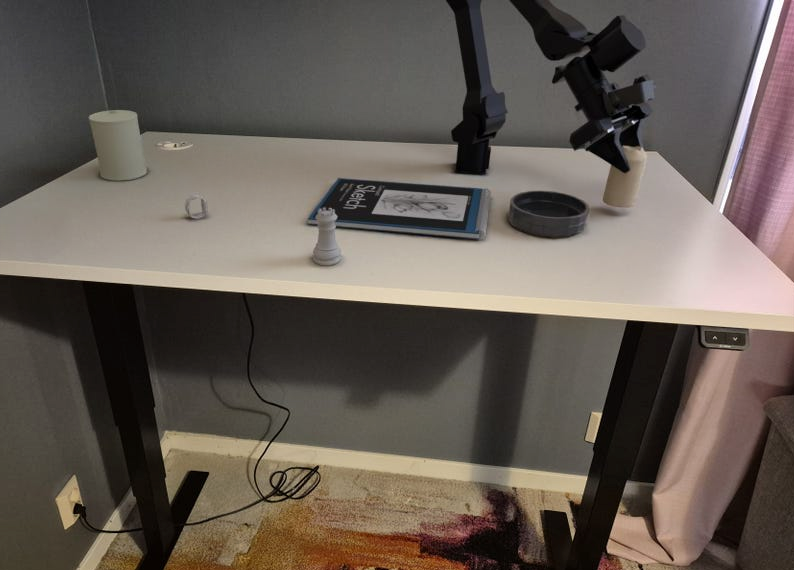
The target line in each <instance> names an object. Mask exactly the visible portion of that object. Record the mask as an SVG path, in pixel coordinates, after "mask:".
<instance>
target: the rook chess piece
mask: <svg viewBox="0 0 794 570" xmlns="http://www.w3.org/2000/svg"><path fill="white" fill-rule="evenodd" d="M316 219H317V220H318V222H319V224H318V225H316V227H317V229H318V236H317V242H316V243H315V247H313V250H312V253H313V255H312V260H313V261H314V262H315V263H316V264H317V265H320V266H325V267H327V266H333V265H337V264H338V263H339V262H340V261H341V260H342V255H341V254H342V249H341V248H340V246H339V244H338V243H337V237H336V228H337V227H336V225H335V224H334V222H335V220H336V219H337V215H336V214H335V210H334V209H333V210H332V208H329V211H326V208H323V211H322V210H321V209H319V210H318V214H317V215H316Z"/></svg>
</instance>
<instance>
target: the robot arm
mask: <svg viewBox="0 0 794 570" xmlns="http://www.w3.org/2000/svg"><path fill="white" fill-rule="evenodd" d="M508 1H509V2H510V3H511V4H512V6H513V7H514V8H515V9H516V10H517V12H519V14H520V15H521V16H522V18H523V19H524V20H525V21H526V22H527V23H528V24H529V26H530V28H531V30H532V31H533V36H534V41H535V43H536V44H537V46H538V48H539V49H540V52H541V53H542V55H543V56H544V57H545V59H547V60H549V61H551V62H555V61H557V62H558V61H562V60H568V59H571V60H570V61H568V62H567V63H566V64H565V65H558V66H555V68H554V74H553V76H552V79H551V83H552V85H555V84H559V83H562V82H566V84H567V86H568V88H569V89H570V91H571V93H572V95H573V97H574V99H575V100H576V102H577V104H576V105H575V106H574V109H575V111H576V112H577V113H579V112H582V113H583V115H584V117H585V119H586V121H587V122H585V123H584V124H582V125H581V126H580V127H578V128H577V129H576V130H574V131H573V132H571V133H570V135H569V136H570V137H569V141H568V142H569V144H570V146H571V148H572V150H573V151H574V152H576V151H579V150H581V149H583V148H584V150H585V152H589V153H591V154H593V155H594V156H595V157H598V158H599V159H601V160H602V161H604V162H605V163H608V164H609V165H610V166H611V165H612V166H614V167H615V168H617V169H618V170H620V171H621V172H623V173H627V172H629V171H630V167H629V164H628V161H627V159H626V156H625V154H624V151H623V149H622V146H630V147H636V146H640V147H642V148H643V150H644V151H645V149H644V144H643V139H642V129H643V127H644V125H645V122H647V117H649V116H650V115H652V114H653V113H654V111H653V109H652V107H651V106H650V104H649V103H648V101H652V100H655V92H654V91H655V90H656V89H657V87H658V85H657V83H655V81H654V78H651V77H650V76H649V75H648V74H645V75H641V76H638V77H635V78H634V80H633V83H632V85H628V86H625V87H622V88H621V87H620V85H619V84H618V83H617V82H609V80H608V78H607V76H606V74H605V72H609V73H615V72H617V71H618V70H620V69H621V68H622V67H623V66H624V65H626V64H627V63H628V62H630V61H631V60H632V59H634V57H637V55H639V54H640V53H642V52H643V51H644V50H645V49H646V47H647V43H646V39H645V36H644V34H643V32H642V31H641V29H639V28H638V27H637V26H636V25H635V23H633V22H631V21H630V20H628V19H627V17H626V15H625V14H619V15H616V16H615V17H614V18H613V19H611V20H610V21H609V23H608V24H607V25H606V26H605V27H604V28H603V29H601V31H600V32H598V33H594V32H593V31H589V30H588V29H587V28H586V26H585V25H584V23H582V22H581V21H579V20H578V19H577V18H575V17H574V16H572V14H570V13H567V12H565V11H564V10H562V9H559V8H558V7H556V6H555V5H553V3H552V2H551V1H550V0H508ZM445 2H446V3H447V5H448V6H449V7H450V9H451V11H452V13H453V14H454V19H455V26H456V30H457V31H456V32H457V39H458V46H459V51H460V56H461V63H462V70H463V75H464V81H465V87H466V92H465V93H466V94H465V97H464V101H463V104H462V120H461V121H460V122H459V123H457V125H456V126H454V127H453V128H452V129H451V130H450V133H451V140H452V142H454V143H457V150H456V160H455V165H454V173H456V174H457V173H458V174H459V173H460V174H473V175H486V174H487V170H489V168H490V162H491V154H492V146H491V145H490V140H491V139H496V137H497V134H498V132H499V131H500V130H501V129H502V128H503V127H504V125H505V124H506V121H507V120H506V115H507V114H508V113H509V111H508V109H507V106H506V95H505V92H504V91H501V92H497V91H496V89H495V88H494V86H493V83H492V78H491V77H492V75H491V71H490V65H489V58H488V50H487V43H486V36H485V30H484V23H483V17H482V11H481V5H482V0H445ZM586 51H588V52H587V53H585V54H584V55H583V56H580V55H581V53H582V52H586ZM588 143H590V144H589V146H587V147H586V144H588Z"/></svg>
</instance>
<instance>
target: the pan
mask: <svg viewBox="0 0 794 570" xmlns="http://www.w3.org/2000/svg"><path fill="white" fill-rule="evenodd" d="M589 212H590V206H589V203H587V202H586V201H585V200H583V199H581V198H579V197H577V196H575V195H571V194H568V193H565V192H559V191H554V190H527V191H522V192H519V193H516V194H514V195H513V196H512V197H511V198H510V200H509V207H508V215H507V220H508V221H509V223H510V224H511V225H512V226H514V227H515V228H516V229H517V230H519V231H521V232H524V233H526V234H529V235H533V236H538V237H544V238H565V237H571V236H573V235H574V236H575V235H576V234H579V233H580V232H582V231H584V229H585V228H586V226H587V221H588V217H589Z"/></svg>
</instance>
